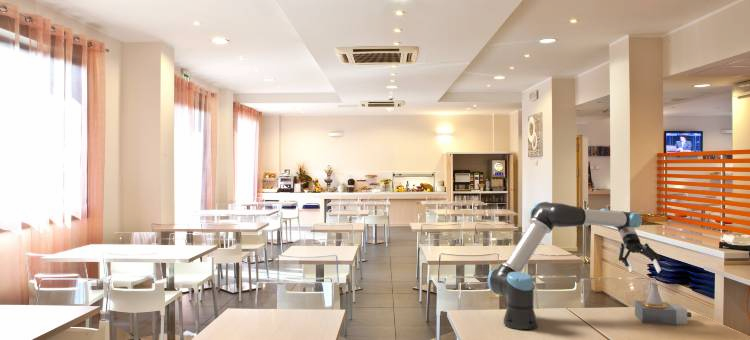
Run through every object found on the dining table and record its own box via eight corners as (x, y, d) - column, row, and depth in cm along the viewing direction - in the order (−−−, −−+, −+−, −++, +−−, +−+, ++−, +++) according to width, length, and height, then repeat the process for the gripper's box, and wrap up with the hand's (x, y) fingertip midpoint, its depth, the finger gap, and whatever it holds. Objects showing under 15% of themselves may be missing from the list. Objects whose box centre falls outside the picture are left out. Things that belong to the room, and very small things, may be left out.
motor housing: (642, 323, 227) (642, 307, 227) (635, 314, 241) (634, 299, 241) (696, 326, 222) (696, 310, 222) (685, 317, 235) (685, 302, 235)
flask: (666, 306, 228) (665, 285, 228) (649, 306, 229) (649, 284, 230) (659, 302, 235) (659, 281, 236) (643, 302, 237) (643, 281, 237)
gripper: (651, 241, 258) (667, 275, 243) (603, 241, 259) (617, 275, 244) (656, 232, 253) (674, 267, 238) (608, 232, 253) (622, 267, 238)
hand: (645, 271), depth 241 cm, fingers open, 13 cm apart
